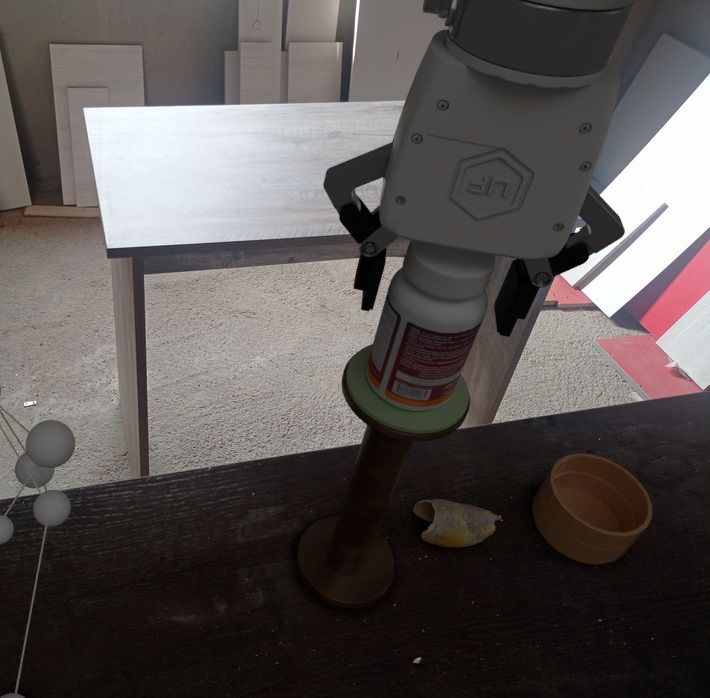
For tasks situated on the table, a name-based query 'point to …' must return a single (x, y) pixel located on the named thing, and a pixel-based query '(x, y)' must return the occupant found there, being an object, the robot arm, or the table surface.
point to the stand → (360, 519)
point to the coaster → (397, 416)
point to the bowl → (591, 509)
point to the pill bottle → (428, 325)
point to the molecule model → (40, 484)
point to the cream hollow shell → (455, 523)
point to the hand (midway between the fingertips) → (434, 308)
